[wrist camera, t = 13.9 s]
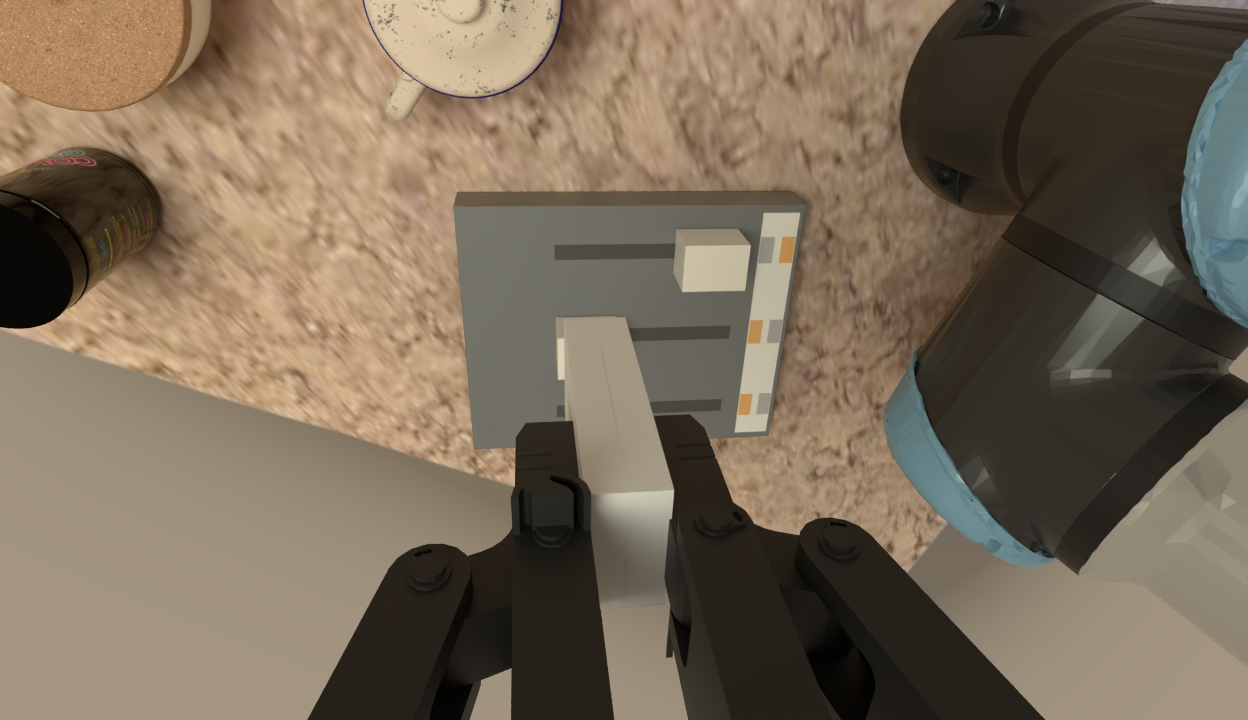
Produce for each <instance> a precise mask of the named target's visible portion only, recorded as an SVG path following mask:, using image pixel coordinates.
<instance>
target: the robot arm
mask: <svg viewBox="0 0 1248 720" xmlns="http://www.w3.org/2000/svg"><path fill="white" fill-rule="evenodd" d="M901 131H902V139H903V144H904V148H905V152H906V154H907V157H908V160H909V162H910V164H911V166H912V168H913V169H914V171H915V173H916V174H917V176H918V177H919V178H920V179H921V181H922V182H923V183H924V184H925V185H926V186H927V187H928V188H929V189H931V190H932V191H933V192H935V193H936V194H938V195H939V196H941V197H943V198H944V199H946V200H948V201H949V202H951V203H953V204H955V205H957V206H959V207H961V208H963V209H966V210H969V211H973V212H976V213H981V214H987V215H1008V216H1016V217H1015V218H1014V220H1013V221H1012V222H1011V224H1010V225H1009V227H1008V228H1007V230H1006V231H1005V232H1004V234H1002V236H1001V237H1000V238H999V240H998V241H997V242H996V244H995V245H994V247H993V248H992V250H991V251H990V252H989V254H988V255H987V257H986V258H985V260H984V261H983V262H982V264H981V265H980V267H979V268H978V270H977V271H976V272H975V274H974V275H973V277H972V278H971V280H970V281H969V282H968V284H967V285H966V287H965V288H964V290H963V291H962V292H961V294H960V295H959V297H958V298H957V300H956V301H955V302H954V304H953V305H952V306H951V308H950V309H949V311H948V312H947V313H946V315H945V316H944V317H943V319H942V320H941V322H940V323H939V324H938V326H937V327H936V328H935V330H934V331H933V333H932V334H931V335H930V337H929V338H928V339H927V341H926V342H925V344H924V345H923V346H921V347H920V348H919V349H918V350H917V351H915V353H914V354H913V355H912V357H911V359H910V362H909V366H908V370H907V371H906V373H905V375H904V376H903V378H902V380H901V381H900V383H899V384H898V386H897V387H896V389H895V391H894V392H893V394H892V395H891V397H890V399H889V400H888V402H887V405H886V408H885V412H884V428H885V432H886V435H887V442H888V445H889V448H890V450H891V452H892V454H893V456H894V458H895V460H896V462H897V464H898V465H899V467H900V468H901V470H902V472H903V473H904V474H905V476H906V477H907V479H908V480H909V481H910V483H911V484H912V485H913V486H914V488H915V489H916V490H917V491H918V493H919V494H920V495H921V496H922V497H923V498H924V499H925V500H926V501H927V503H928V504H929V505H930V506H931V507H932V508H933V509H934V510H935V511H936V512H937V513H938V514H939V515H940V516H941V517H942V518H944V519H945V520H946V521H947V522H948V523H949V524H950V525H952V526H953V527H954V528H955V529H956V530H957V531H959V532H960V533H961V534H962V535H964V536H965V537H966V538H968V539H969V540H971V541H972V542H974V543H980V542H982V544H983V545H984V546H986V548H987V549H988V550H989V551H990V553H991V554H992V555H994V556H996V557H998V558H1000V559H1002V560H1004V561H1007V562H1009V563H1012V564H1015V565H1019V566H1026V567H1038V566H1041V565H1043V564H1048V563H1052V562H1054V561H1056V560H1057V559H1059V560H1060V561H1061V562H1062V563H1063V564H1065V565H1066V566H1067V567H1068V568H1070V569H1071V570H1072V571H1073V572H1074V573H1076V574H1077V575H1078V576H1080V577H1081V578H1083V579H1084V580H1086V581H1099V582H1100V581H1102V582H1129V583H1132V584H1136V585H1140V586H1143V587H1145V588H1147V589H1148V590H1149V591H1150V592H1152V593H1153V594H1154V595H1156V596H1157V597H1158V598H1159V599H1161V600H1162V601H1164V603H1166V604H1167V605H1168V606H1170V607H1171V608H1172V609H1173V610H1175V611H1176V612H1177V613H1179V614H1180V615H1181V616H1182V617H1184V618H1185V619H1186V620H1188V621H1189V622H1190V623H1191V624H1193V625H1194V626H1195V627H1197V628H1198V629H1199V630H1200V631H1202V632H1203V633H1204V634H1206V635H1207V636H1208V637H1210V638H1211V639H1212V640H1213V641H1215V642H1216V643H1217V644H1218V645H1220V646H1221V647H1222V648H1224V649H1225V650H1226V651H1227V652H1229V653H1230V654H1231V655H1233V656H1234V657H1235V658H1237V659H1238V660H1239V661H1240V662H1242V663H1243V664H1244V665H1246V666H1247V667H1248V383H1247V382H1245V381H1243V380H1242V379H1240V378H1238V377H1236V376H1235V375H1233V374H1231V373H1230V372H1229V371H1228V368H1229V366H1230V365H1231V364H1232V363H1233V361H1234V360H1236V359H1237V357H1238V356H1239V355H1240V354H1241V353H1242V352H1243V351H1244V350H1245V349H1246V348H1247V347H1248V10H1246V9H1233V8H1219V7H1205V6H1191V5H1177V4H1160V3H1154V2H1153V1H1151V0H957V1H956V2H955V3H954V4H953V5H952V6H951V7H950V8H949V9H948V10H947V11H946V12H945V13H944V14H943V15H942V17H941V18H940V19H939V20H938V22H937V23H936V24H935V25H934V27H933V28H932V30H931V31H930V33H929V34H928V35H927V37H926V39H925V40H924V42H923V44H922V45H921V47H920V49H919V51H918V53H917V55H916V57H915V60H914V62H913V64H912V67H911V69H910V72H909V75H908V78H907V81H906V85H905V89H904V94H903V99H902V107H901ZM564 360H565V418H566V421H555V422H531V423H525V425H524V426H523V428H522V429H521V430H520V432H519V433H518V435H517V436H516V457H515V487H514V489H513V493H512V496H511V510H512V529H511V531H510V533H509V534H508V535H507V536H506V537H505V538H504V539H503V540H502V541H501V542H500V543H498V544H496V545H495V546H493V547H491V548H489V549H487V550H484V551H482V552H479V553H476V554H472V555H469V556H467V555H466V554H465V553H463V552H462V551H461V550H459V549H458V548H456V547H453V546H449V545H446V544H426V545H423V546H420V547H417V548H413V549H411V550H409V551H408V552H406V553H404V554H403V555H401V556H400V557H398V558H397V559H396V561H395V562H394V563H393V564H392V565H391V567H390V568H389V569H388V571H387V573H386V575H385V577H384V579H383V580H382V582H381V584H380V586H379V588H378V590H377V592H376V593H375V595H374V597H373V599H372V601H371V603H370V605H369V607H368V608H367V610H366V612H365V614H364V616H363V618H362V619H361V621H360V623H359V625H358V627H357V629H356V631H355V633H354V634H353V636H352V638H351V640H350V642H349V644H348V646H347V647H346V649H345V651H344V653H343V655H342V657H341V659H340V660H339V662H338V664H337V666H336V668H335V670H334V671H333V673H332V675H331V677H330V679H329V681H328V683H327V685H326V687H325V688H324V690H323V692H322V694H321V696H320V698H319V699H318V701H317V703H316V705H315V707H314V709H313V710H312V712H311V714H310V716H309V718H308V720H470V716H471V714H472V710H473V707H474V704H475V701H476V698H477V695H478V692H479V689H480V685H481V680H482V679H485V678H487V677H490V676H492V675H495V674H498V673H500V672H503V671H505V670H508V669H510V668H512V684H511V686H512V688H511V689H512V690H511V697H512V698H511V720H614V714H613V706H612V698H611V690H610V682H609V674H608V666H607V658H606V650H605V642H604V633H603V625H602V617H601V610H602V609H615V608H628V607H642V606H655V605H664V602H665V590H666V588H667V593H668V597H669V602H670V616H669V626H668V638H667V652H666V657H672V655H673V650H674V655H675V659H676V664H677V669H678V673H679V677H680V683H681V687H682V691H683V697H684V701H685V706H686V711H687V715H688V720H1045V719H1044V718H1043V717H1042V716H1041V715H1040V714H1039V713H1038V712H1037V711H1036V710H1035V709H1034V707H1033V706H1032V705H1031V704H1030V703H1029V702H1028V701H1027V700H1026V699H1025V698H1024V697H1023V696H1022V695H1021V694H1020V693H1019V692H1018V691H1017V689H1016V688H1015V687H1014V686H1013V685H1012V684H1011V683H1010V682H1009V681H1008V680H1007V679H1006V678H1005V677H1004V676H1003V675H1002V674H1001V673H1000V671H999V670H998V669H997V668H996V667H995V666H994V665H993V664H992V663H991V662H990V661H989V660H988V659H987V658H986V657H985V656H984V655H983V653H982V652H981V651H980V650H979V649H978V648H977V647H976V646H975V645H974V644H973V643H972V642H971V641H970V640H969V639H968V638H967V637H966V635H965V634H964V633H963V632H962V631H961V630H960V629H959V628H958V627H957V626H956V625H955V624H954V623H953V622H952V621H951V620H950V619H949V617H948V616H946V614H945V613H944V612H943V611H942V610H941V609H940V608H939V607H938V606H937V605H936V604H935V603H934V602H933V601H932V599H931V598H930V597H929V596H928V595H927V594H926V593H925V592H924V591H923V590H922V589H921V588H920V587H919V586H918V585H917V584H916V583H915V582H914V580H913V579H912V578H911V577H910V576H909V575H908V574H907V573H906V572H905V571H904V570H903V569H902V568H901V567H900V566H899V565H898V563H897V562H896V561H895V560H894V559H893V558H892V557H891V556H890V555H889V554H888V553H887V552H886V551H885V550H884V549H883V548H882V547H881V545H880V544H879V543H878V542H877V541H876V540H875V539H874V538H873V537H872V536H871V535H870V534H869V533H867V532H866V531H865V530H863V529H862V528H861V527H860V526H858V525H855V524H853V523H851V522H848V521H846V520H842V519H836V518H820V519H815V520H813V521H811V522H809V523H807V524H806V525H805V526H804V527H803V529H802V530H801V531H800V535H793V534H788V533H782V532H777V531H772V530H769V529H765V528H762V527H760V526H758V525H755V524H754V523H753V521H752V519H751V518H750V516H749V515H748V514H747V512H746V511H745V510H744V509H742V508H741V507H739V506H738V505H736V504H735V503H733V501H732V498H731V496H730V493H729V490H728V488H727V485H726V483H725V480H724V477H723V475H722V472H721V469H720V467H719V464H718V462H717V459H715V454H714V451H713V449H712V446H710V441H709V438H708V436H707V433H706V430H705V428H704V427H703V426H702V425H701V424H700V423H699V422H698V421H697V420H696V419H694V418H693V417H692V416H691V415H690V414H684V415H660V416H653V413H652V410H651V406H650V403H649V399H648V396H647V392H646V389H645V385H644V382H643V378H642V375H641V371H640V367H639V364H638V360H637V357H636V353H635V350H634V346H633V343H632V339H631V336H630V332H629V329H628V325H627V322H626V318H625V317H609V318H568V319H564Z"/></svg>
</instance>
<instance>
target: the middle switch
mask: <svg viewBox="0 0 1248 720" xmlns="http://www.w3.org/2000/svg"><path fill="white" fill-rule="evenodd" d="M609 317H616V316H592V317H556V362H557V373H558V380H564V379H565V360H564V319H568V318H609Z"/></svg>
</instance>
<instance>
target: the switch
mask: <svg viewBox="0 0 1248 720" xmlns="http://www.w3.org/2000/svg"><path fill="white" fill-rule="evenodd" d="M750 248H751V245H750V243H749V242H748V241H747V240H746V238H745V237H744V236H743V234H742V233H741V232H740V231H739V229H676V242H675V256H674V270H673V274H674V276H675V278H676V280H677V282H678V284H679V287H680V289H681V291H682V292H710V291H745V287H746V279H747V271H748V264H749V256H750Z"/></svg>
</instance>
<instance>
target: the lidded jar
mask: <svg viewBox="0 0 1248 720" xmlns="http://www.w3.org/2000/svg"><path fill="white" fill-rule="evenodd" d="M210 21H211V0H0V81H1V82H3V83H4V84H6V85H7V86H9V87H11V88H12V89H14V90H16V91H18V92H20V93H22V94H24V95H26V96H28V97H30V98H33V99H36V100H38V101H41V102H44V103H47V104H50V105H53V106H57V107H61V108H66V109H70V110H79V111H91V112H93V111H108V110H114V109H118V108H122V107H127V106H130V105H132V104H135V103H137V102H139V101H141V100H144V99H146V98H148V97H150V96H151V95H153V94H154V93H155V92H157V91H158V90H160V89H162V88H164V87H166V86H167V85H169V84H170V83H172V82H173V81H175V80H176V79H177V78H179V77H180V76H181V75H182V74H183V73H184V72H185V71H186V70H187V69H188V68H189V67H190V66H191V65H192V64H193V62H194V61H195V59H196V57H197V56H198V54H199V53H200V51H201V49H202V48H203V46H204V43H205V40H206V38H207V35H208V32H209V27H210Z"/></svg>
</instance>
